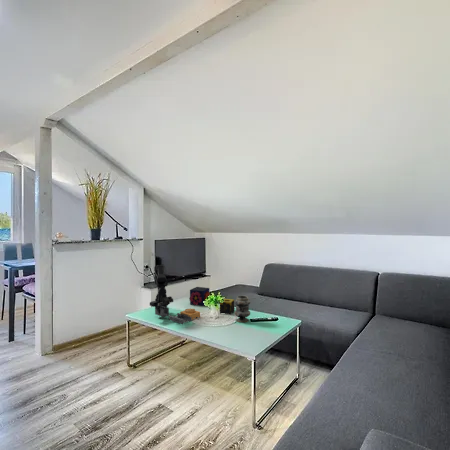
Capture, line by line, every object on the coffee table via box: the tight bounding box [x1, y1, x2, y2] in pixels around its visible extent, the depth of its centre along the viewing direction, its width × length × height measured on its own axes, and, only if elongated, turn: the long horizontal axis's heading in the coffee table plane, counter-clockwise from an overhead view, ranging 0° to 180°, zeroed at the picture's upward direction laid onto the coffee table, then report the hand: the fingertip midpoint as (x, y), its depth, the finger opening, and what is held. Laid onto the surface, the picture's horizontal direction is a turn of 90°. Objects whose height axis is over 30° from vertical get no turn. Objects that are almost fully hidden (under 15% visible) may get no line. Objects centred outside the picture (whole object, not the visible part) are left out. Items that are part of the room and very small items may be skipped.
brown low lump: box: [179, 307, 201, 320], centre depth 237 cm, size 12×10×6 cm
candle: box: [219, 298, 236, 315], centre depth 248 cm, size 10×10×10 cm
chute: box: [154, 305, 170, 318], centre depth 235 cm, size 11×5×6 cm, turn 48°
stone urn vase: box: [233, 295, 251, 323], centre depth 227 cm, size 12×12×18 cm
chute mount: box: [168, 312, 193, 325], centre depth 230 cm, size 16×10×3 cm, turn 48°
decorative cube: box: [189, 286, 211, 307], centre depth 276 cm, size 16×16×14 cm
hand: (161, 312), depth 235 cm, fingers closed on chute, 5 cm apart
